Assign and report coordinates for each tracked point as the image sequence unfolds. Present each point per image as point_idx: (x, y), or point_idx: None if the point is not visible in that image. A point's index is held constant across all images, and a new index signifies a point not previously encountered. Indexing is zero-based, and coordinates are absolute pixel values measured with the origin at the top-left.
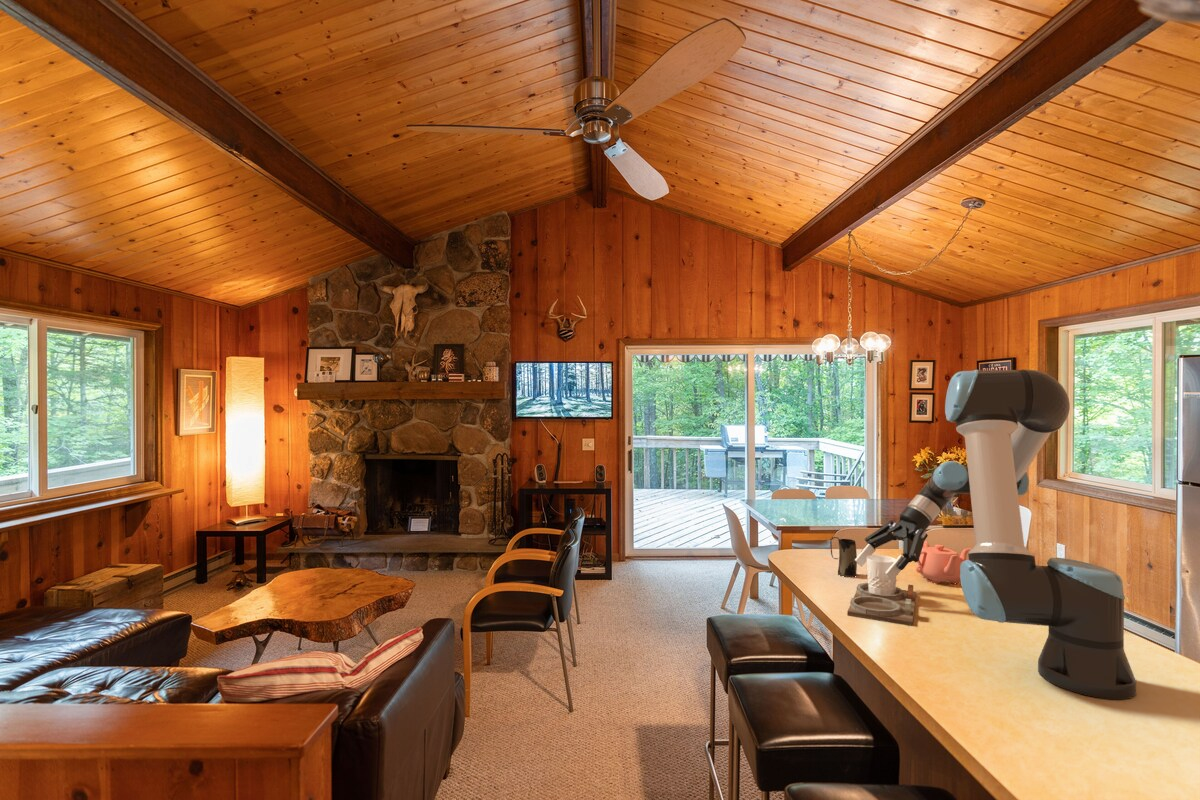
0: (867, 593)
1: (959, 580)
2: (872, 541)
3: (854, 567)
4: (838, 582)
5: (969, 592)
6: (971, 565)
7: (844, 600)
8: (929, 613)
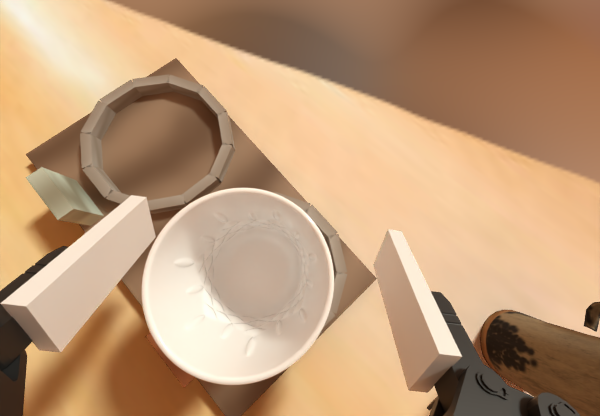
0: None
1: None
2: (458, 400)
3: (515, 367)
4: (437, 248)
5: None
6: None
7: (280, 141)
8: None
